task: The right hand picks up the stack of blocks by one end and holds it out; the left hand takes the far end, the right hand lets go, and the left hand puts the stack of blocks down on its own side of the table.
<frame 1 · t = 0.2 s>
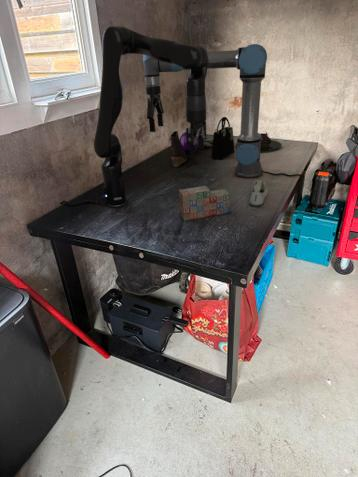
left hand: (196, 151, 130), 29 cm above the table, tool pointing down, fingers open, 8 cm apart
right hand: (156, 129, 177), 28 cm above the table, tool pointing down, fingers open, 13 cm apart
pair of gloves: (209, 144, 253), on the table
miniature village: (256, 146, 240), on the table
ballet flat: (258, 197, 160), on the table
stack of blocks: (204, 214, 147), on the table
handbag: (223, 155, 224), on the table
boot: (179, 162, 216), on the table
decorative orb: (190, 153, 234), on the table
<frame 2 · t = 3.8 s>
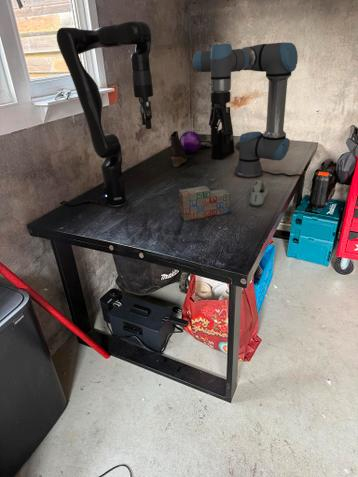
left hand: (146, 126, 135), 38 cm above the table, tool pointing down, fingers open, 8 cm apart
right hand: (219, 148, 134), 29 cm above the table, tool pointing down, fingers open, 13 cm apart
nothing on the table moved.
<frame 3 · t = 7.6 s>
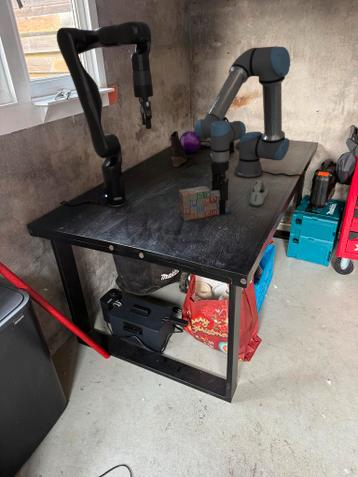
left hand: (146, 126, 135), 38 cm above the table, tool pointing down, fingers open, 8 cm apart
right hand: (219, 210, 149), 1 cm above the table, tool pointing down, fingers closed on stack of blocks, 6 cm apart
stack of blocks: (204, 214, 147), on the table, touching right hand
everything else where it was.
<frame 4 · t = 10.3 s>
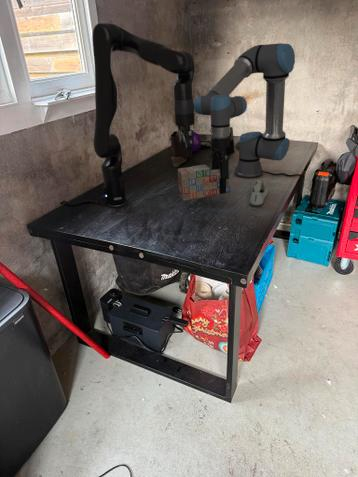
left hand: (186, 154, 132), 28 cm above the table, tool pointing down, fingers open, 8 cm apart
right hand: (219, 190, 144), 10 cm above the table, tool pointing down, fingers closed on stack of blocks, 6 cm apart
stack of blocks: (204, 194, 143), point 10 cm above the table, touching right hand
everything else where it was.
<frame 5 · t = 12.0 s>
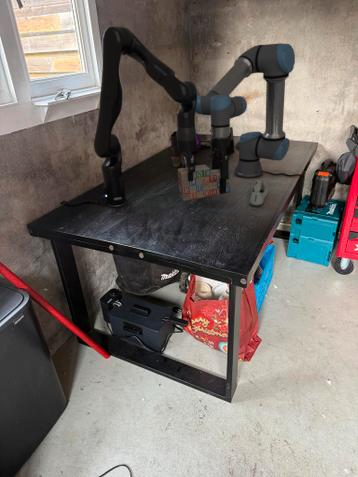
left hand: (188, 178, 137), 18 cm above the table, tool pointing down, fingers closed on stack of blocks, 6 cm apart
right hand: (219, 190, 144), 10 cm above the table, tool pointing down, fingers closed on stack of blocks, 6 cm apart
stack of blocks: (204, 194, 143), point 9 cm above the table, touching right hand, left hand
everything else where it was.
when the right hand's fingers open (10 cm above the table, at t = 13.0 s): stack of blocks stays where it is, held by the left hand.
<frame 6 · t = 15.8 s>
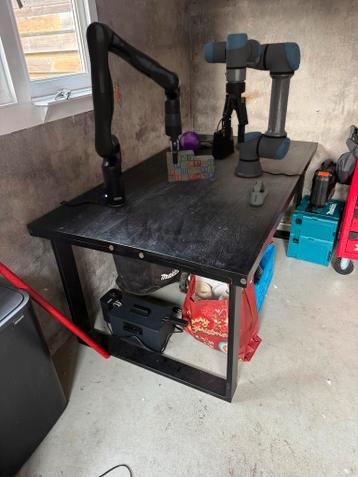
left hand: (174, 161, 150), 20 cm above the table, tool pointing down, fingers closed on stack of blocks, 6 cm apart
right hand: (233, 139, 134), 32 cm above the table, tool pointing down, fingers open, 13 cm apart
stack of blocks: (190, 177, 155), point 12 cm above the table, touching left hand
everything else where it was.
when the left hand's fingers open (9 cm above the table, at t = 19.9 s): stack of blocks drops 1 cm, on the table.
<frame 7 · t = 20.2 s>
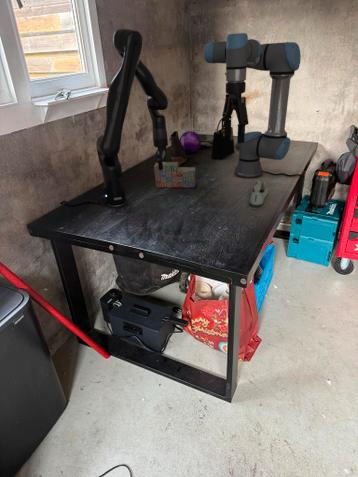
left hand: (162, 167, 177), 10 cm above the table, tool pointing down, fingers open, 8 cm apart
right hand: (233, 139, 134), 32 cm above the table, tool pointing down, fingers open, 13 cm apart
stack of blocks: (176, 185, 180), on the table
everything else where it was.
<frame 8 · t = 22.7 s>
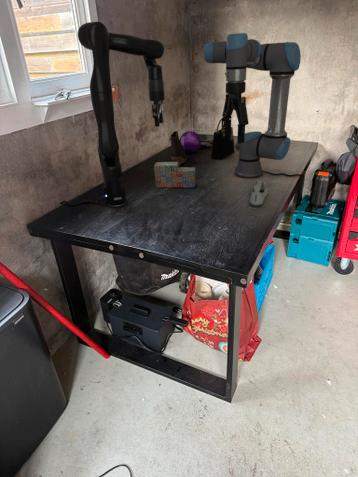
left hand: (159, 124, 166), 32 cm above the table, tool pointing down, fingers open, 8 cm apart
right hand: (233, 139, 134), 32 cm above the table, tool pointing down, fingers open, 13 cm apart
nothing on the table moved.
at the end: stack of blocks inside the target area (6.8 cm from its centre), on the table; the left hand is holding nothing; the right hand is holding nothing; stack of blocks at rest at the end (0.1 cm/s) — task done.
